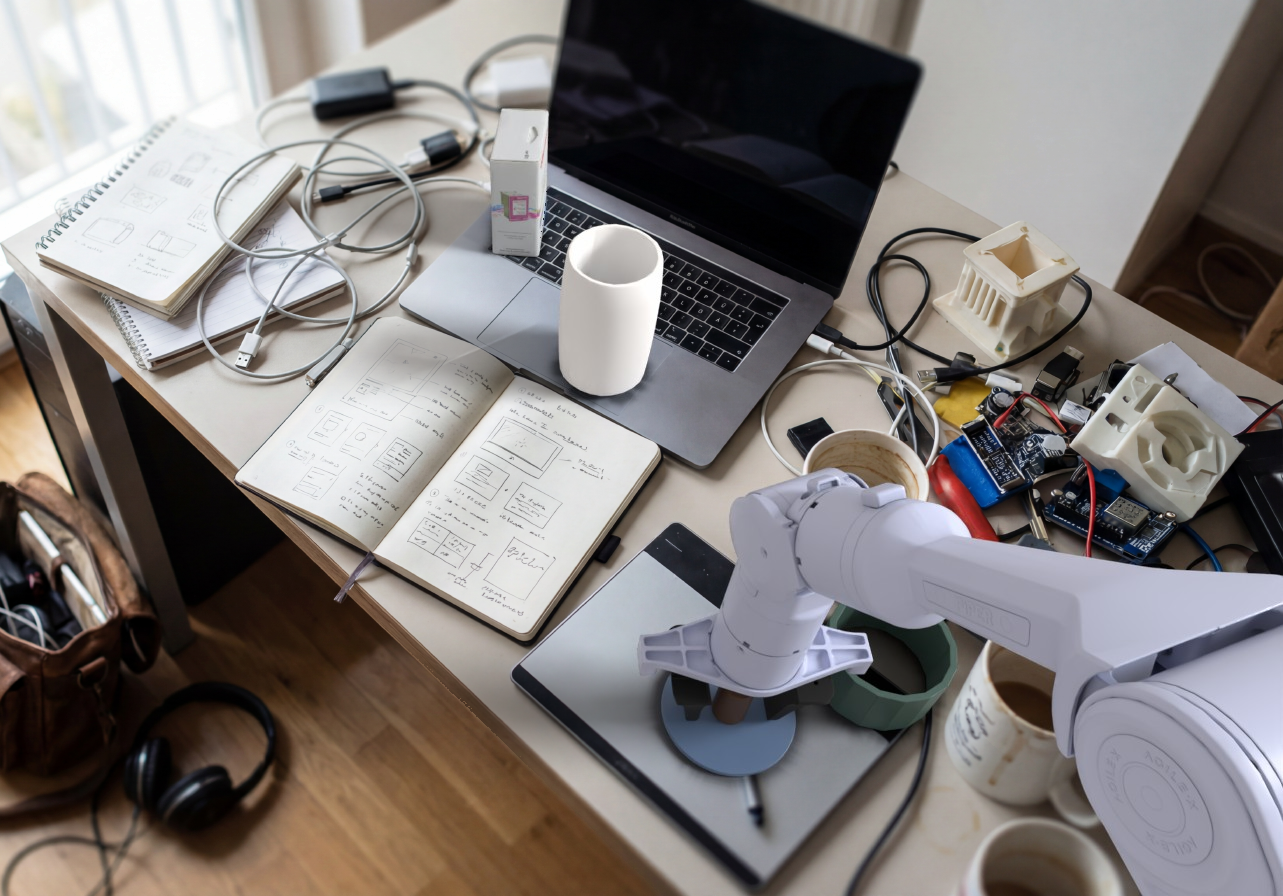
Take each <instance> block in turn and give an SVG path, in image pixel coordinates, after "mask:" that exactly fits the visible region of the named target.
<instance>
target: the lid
mask: <svg viewBox="0 0 1283 896" xmlns="http://www.w3.org/2000/svg"><path fill="white" fill-rule="evenodd" d="M709 687H710V694H711V700H712V706H705V707H704V708H703V709H702V710H701V713H700V716H699V719H698V720H696V721H687V720H686V719H685V711H684V707H683V706H682V705H677V704H676V701H675V699H674V696H673V691H672V683H671V675H670V674H669V675H668V677H667V679H666V681H665V683H664V686H663V689H662V692H661V693H662V694H661V701H660V711H661V717H662V722H663V725H664V728H665V730H666V732H667V734H668V736H669V738H670V739H671V741H672V743H673V744H674V745H675V747H676V748H677V749H678V751H679V752H680V753H682V754H683V756H685V758H687V759H688V760H689V761H690V762H692V763H693V764H695V765H697V766H698V767H700V768H702V769H704V770H706V771H708V772H711V773H714V774H716V775H721V776H726V777H735V778H736V777H748V776H749V777H750V776H753V775H757V774H760V773H763V772H765V771H766V770H768V769H770V768H772V767H773V766H774V765H776V764H777V763H778V762H779V761H780V760H781V759H782V758H783V757H784V756H785V754H786V753H787V751H788V750H789V749H790V746H791V744H792V742H793V740H794V736H795V732H796V727H797V720H796V719H797V716H796V710H795V711H793V712H791V713H789V714H787V715H785V716H784V717H782V718H780V719H778V720H767V716H766V710H765V705H764V700H763V697H753V696H748V695H744V694H741V693H738V692H734V691H731V690H728V689H725V688H722V687H719V686H716V685H712V684H709Z"/></svg>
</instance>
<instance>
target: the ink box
mask: <svg viewBox="0 0 1283 896" xmlns="http://www.w3.org/2000/svg"><path fill="white" fill-rule="evenodd" d="M549 115H550V114H549V111H548V110H547V109H537V108H501V109H500V114H499V118H498V123H497V127H496V131H495V135H494V139H493V144H492V148H491V153H490V157H489V179H490V211H491V237H492V238H491V239H492V242H491V243H492V244H491V245H492V254H494V255H505V256H518V257H532V258H536V257H538V256H540V250H541V245H542V239H543V231H544V225H545V218H546V211H547V205H546V206H545V203H546V204H547V192H546V191H548V190H547V187H548V186H547V184H548V183H547V181H548V151H549V150H548V145H549V144H548V141H549V138H548V137H549V117H550V116H549ZM544 211H545V214H544ZM543 218H544V220H543ZM542 225H543V226H542ZM541 231H542V232H541ZM540 237H541V238H540Z"/></svg>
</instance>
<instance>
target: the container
mask: <svg viewBox="0 0 1283 896" xmlns="http://www.w3.org/2000/svg"><path fill="white" fill-rule="evenodd" d="M825 626H826V627H830V628H833V629H837V630H841V631H843V629H851V628H859V627H866V628H871V629H875V630H879V631H884V632H886V633H887V634H889V635H891V636H892V637H895V638H896V639H898V640H900V641H901V642H903V643H904V644H905V645H906V647H908V648H909V649H910V651H911V652H912V653H913V654H914V655H915V656H916V657H917V658H918V661H919V662H920V666H921V668H922V669H923V672H924V675H925V692H921V693H919V692H918V693H913V694H904V695H903V694H900V693H899V694H898V693H893V692H890V691H886V690H881V689H879V688H877V687H876V686H874V685H872V684H871V683H869V682H867V681H865V680H864V679H863V678H860V677H859V676H858V674H850V673H849V672H848V671H847V669H845V670H842V671H839V672H836V673H833V674H831V677H832V681H833V685H834V696H833V697H832V699H831V701H830V702H829V704H828V705H830V707H831V708H832V709H833V710H834V711H835V712H836V713H837V714H839V715H840V716H842V717H844V718H845V719H847V720H848V721H851V722H852V723H854V724H855V725H857V726H860V727H864V728H868V729H873V730H877V731H881V732H882V731H883V732H885V731H894V730H900V729H906V728H908V727H910V726H911V725H913V724H915V723H916V722H918V721H919V720H921V719H922V718H924V717H925V716H926V714H927V713H928V712H929V711H930V710H931V708H932V707H933V706H934V704H935V703H936V702H937V701H938V700H939V698H940V697H941V696H942V695H943V694H944V692H946V690H947V689H948V687H949V686H950V684H951V683H952V680H953V678H954V677H955V674H956V672H957V670H958V646H957V643H956V641H955V639H954V637H953V635H952V632H951V631H950V628H949V626H948V624H947V623H946V621H944V620H943V621H941V622H939V623H937V624H935V625H932V626H930V627H925V628H920V629H907V628H902V627H898V626H895V625H893V624H890V623H888V622H886V621H883V620H881V619H878V618H876V617H874V616H871V615H868V614H866V613H864V612H861V611H859V610H856V609H854V608H852V607H849V606H847V605H844V604H842V603H839V602H838V604H837V606H836V608H835V609H834V611H833V612H832V614H831V615H830V617H829V619H828V621H827V623H826V625H825Z"/></svg>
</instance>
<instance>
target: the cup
mask: <svg viewBox="0 0 1283 896" xmlns="http://www.w3.org/2000/svg"><path fill="white" fill-rule="evenodd" d="M564 261H565V262H564V265H563V266H564V267H563V272H562V278H561V285H560V294H559V308H558V309H559V310H558V362H559V370H560V372H561V375H562V377H563V378H564V379H565V380H566V381H567V382H568V384H569V385H571V386H572V387H574V388H575V389H577V390H579V391H582V392H584V393H587V394H589V395H593V396H598V397H608V396H609V397H610V396H615V395H619V394H620V395H621V394H624V393H625V392H627V391H630V390H631V389H633V388H634V387H636V386H637V385H638V384H639V383H641V381H642V378H643V377H644V375H645V371H646V368H647V364H648V361H649V356H650V352H651V349H652V345H653V339H654V336H655V330H656V325H657V319H658V315H659V309H660V303H661V297H662V286H663V275H664V274H663V273H664V256H663V251H662V248H661V246H660V245H659V243H658V242H657V241H656V240H655V239H654V238H652V237H651V236H650V235H649V234H647V233H645V232H644V231H643V230H640V229H638V228H636V227H632V226H628V225H623V224H617V223H613V224H612V223H611V224H602V225H597V226H592V227H590V228H588V229H586V230H583V231H582V232H580V233H578V234H577V235H576V236H574V237H573V238H572V240H571V241H570V243H569V245H568V247H567V251H566V255H565V260H564Z"/></svg>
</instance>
